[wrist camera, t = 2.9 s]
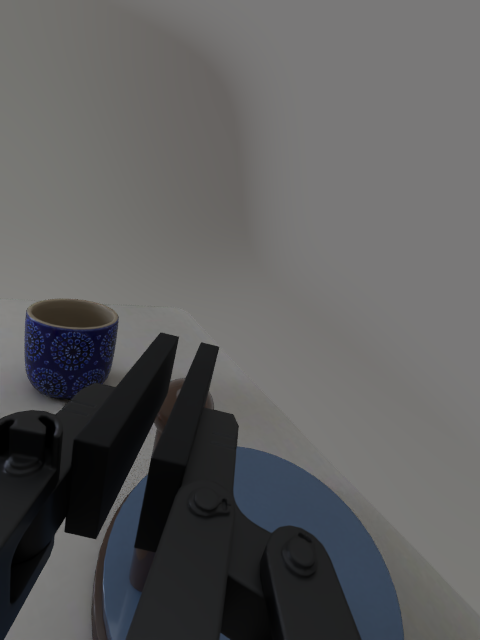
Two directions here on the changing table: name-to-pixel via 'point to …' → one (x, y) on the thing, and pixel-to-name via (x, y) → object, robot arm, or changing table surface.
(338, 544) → the blue disc with post
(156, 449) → the robot arm
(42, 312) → the planter
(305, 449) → the changing table surface
